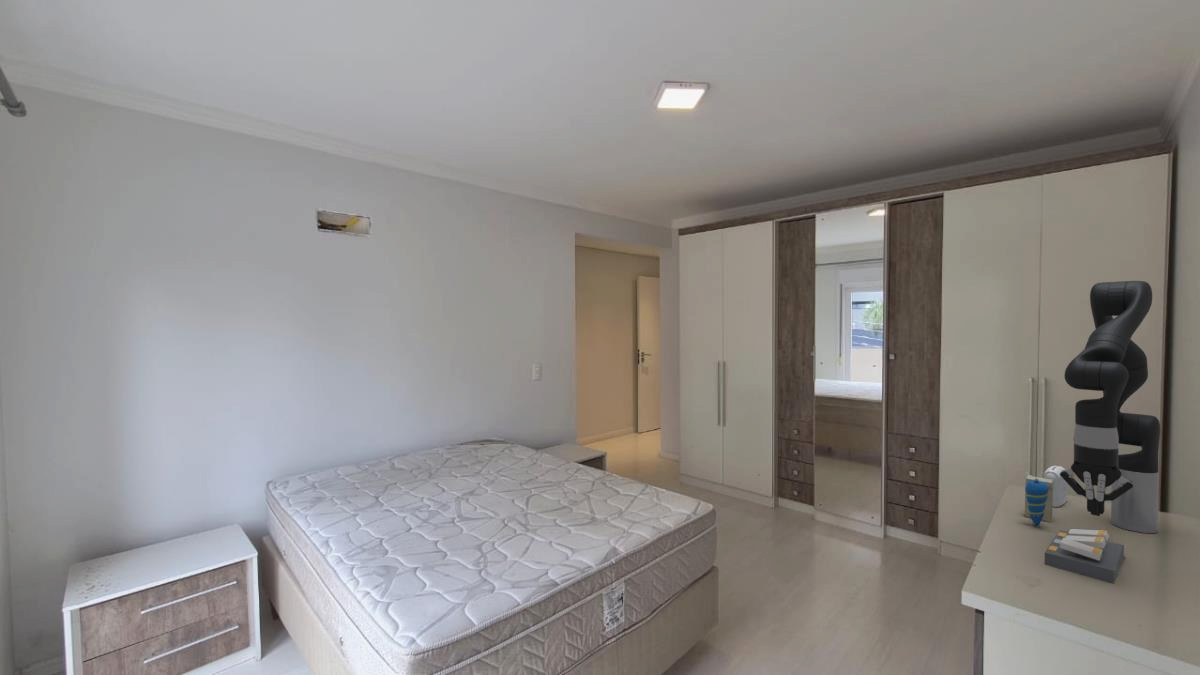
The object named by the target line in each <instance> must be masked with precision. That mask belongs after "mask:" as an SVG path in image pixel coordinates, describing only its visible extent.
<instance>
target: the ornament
mask: <svg viewBox="0 0 1200 675" xmlns="http://www.w3.org/2000/svg"><path fill="white" fill-rule="evenodd" d="M1035 477H1036V479H1034V481H1029V482H1028V483H1027V485H1026V484H1025V487H1024V491H1026V494H1027V496H1026V499H1027V501H1028V503H1029V505H1028V508H1029V511H1030V517H1031V518H1030V517H1029V518H1030V519H1031V521H1032V523H1033V525H1034V526H1035V527H1036V526H1037V527H1038V528H1039V527H1040V524H1041V522H1042V521H1043V520H1042V518H1043V516H1044V509H1045V506H1046V504H1045V502H1046V500H1047V498H1048V496H1047V493H1048V491H1049V487H1048V486H1047V485H1046V484H1045V483H1043V482H1040V481H1039V479H1037V477H1038V476H1035Z"/></svg>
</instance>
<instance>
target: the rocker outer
mask: <svg viewBox="0 0 1200 675" xmlns="http://www.w3.org/2000/svg"><path fill="white" fill-rule="evenodd" d="M1060 548H1062V549H1065V550H1068V551H1071V552H1074V553H1077V554H1080V555H1083V556H1087V557H1090V558H1093V559H1096V560H1099V561H1100V559H1101V556H1102V551H1103V550H1102V549H1099V548H1096V547H1091V546H1088V545H1085V544H1082V543H1079V542H1076V541H1073V540H1069V539H1066V538H1063V539H1062V541H1061V542H1060Z"/></svg>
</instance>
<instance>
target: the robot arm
mask: <svg viewBox="0 0 1200 675" xmlns="http://www.w3.org/2000/svg"><path fill="white" fill-rule="evenodd" d="M1090 289H1091V290H1090V292H1089V302H1090V304H1089V305H1090V308H1091V314H1092V318H1093V323H1094V327H1095V328H1094V329H1095V330H1093V331H1092V332H1091V334H1090V335H1089V337H1088V339H1087V341H1086V344H1085V346H1084V349H1083V350H1082V351H1081V352H1079V354H1077V355H1076V356H1075V357H1074V358H1073V359H1072V360H1071V361H1070V362H1069V363H1068V364H1067V366H1066V368H1065V371H1064V380H1065V382H1066V384H1067V385H1068V386H1069V387H1071V388H1073V389H1075V390H1084V391H1086V390H1087V391H1097V392H1099V391H1100V392H1102V394H1103V396H1101V397H1100V398H1091V399H1089V398H1088V399H1081V400H1078V401H1076V403H1075V406H1074V407H1075V408H1074V409H1075V410H1074V411H1075V412H1074V413H1075V414H1074V419H1075V420H1074V422H1075V423H1074V430H1073V437H1072V439H1073V463H1072V464H1071V466H1070V468H1069V469H1065V470H1063V471H1061V473H1060V476H1061V477H1062V478H1063V479H1064V480H1065V481H1066V482H1067V485H1068V486H1069V488H1071V489H1072V490H1073V491H1074V492H1075V493H1076V494H1077V495H1079V496H1083V497H1085V499H1086V510H1087V512H1089V513H1090V515H1092V516H1096V517H1097V516H1098V517H1100V516H1101V515H1104V512H1105V502H1107V501H1110V523H1111V524H1112V525H1113V526H1116V527H1117V528H1121V529H1124V530H1128V531H1131V532H1137V533H1145V534H1157V533H1159V452H1160V451H1159V448H1160V438H1161V423H1160V421H1159V419H1158V418H1157V417H1156V416H1155V415H1150V414H1149V415H1148V414H1140V413H1129V412H1121V408H1122V406H1123V405H1124V404H1125V403H1126V401H1127V400H1128V399H1129V398H1130V397H1131V396H1132V395H1134V393H1135V392H1137V391H1138V390H1139V389H1140V388H1141V387H1143V385H1144V384H1145V383H1146V382H1147V380H1148V378H1149V369H1148V357H1147V355H1146V353H1145V351H1144V350H1143V349H1142V348H1141V347H1140V346H1139V345H1138V344H1137V343H1136V342H1135V341H1133V340H1132V336H1133V335H1134V333H1135V332H1136V330H1138V329H1139V327H1140V325H1141V324H1142V322H1143V321H1144V319H1145V318H1146V316H1147V314H1148V313H1149V312H1150V309H1151V306H1152V303H1153V290H1152V286H1151V284H1150V283H1149V282H1147V281H1144V280H1126V281H1125V280H1121V281H1105V282H1104V281H1103V282H1098V283H1095V284H1093V286H1092V287H1091V288H1090ZM1113 317H1114V318H1113ZM1119 444H1121V445H1127V446H1134V447H1140V448H1141V450H1138V451H1136V452H1131V453H1125V454H1122V453H1121V454H1119V446H1120V445H1119ZM1075 476H1076V477H1077V478H1078V479H1079V480H1080V482H1082V483H1083V484H1084V488H1083V486H1082V485H1081V484H1080V483H1079V482H1078V481H1077V480H1076V479H1075ZM1110 486H1111V487H1110ZM1095 487H1096V493H1095ZM1107 487H1110V490H1111V491H1110V492H1109V493H1106V489H1107Z"/></svg>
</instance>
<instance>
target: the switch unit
mask: <svg viewBox="0 0 1200 675" xmlns="http://www.w3.org/2000/svg"><path fill="white" fill-rule="evenodd" d="M1068 533H1069V531H1066V530H1062V529H1059V530H1058V532H1057V534H1056V535H1055V536H1054V538H1053V539H1052V541H1051V542H1050V544H1049V545H1048V546H1047V548H1046V550H1045V551H1044V565H1047V566H1051V567H1054V568H1058V569H1060V570H1065V571H1068V572H1072V573H1075V574H1079V575H1083V576H1085V577H1089V578H1093V579H1097V580H1100V581H1104V582H1107V583H1110V584H1111V583H1112V584H1115V582H1116V580H1117V577H1118V575H1119V574H1118V573H1119V571H1120V568H1121V565H1122V563H1123V559H1124V556H1125V555H1124V554H1125V552H1124V550H1125V549H1124V546H1125V545H1124V544H1123V543H1117V542H1113V541H1110V540H1109V541H1108V540H1107V541H1105V542H1106V545H1105V547H1104V548H1099V549H1102V550H1103V551H1102V556H1101V559H1100V561H1099V560H1096V559H1093V558H1090V557H1087V556H1083V555H1080V554H1077V553H1074V552H1071V551H1068V550H1065V549H1062V548H1060V542H1061V541H1062V539H1063V538H1065V537H1066V536H1067V535H1069V534H1068Z"/></svg>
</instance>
